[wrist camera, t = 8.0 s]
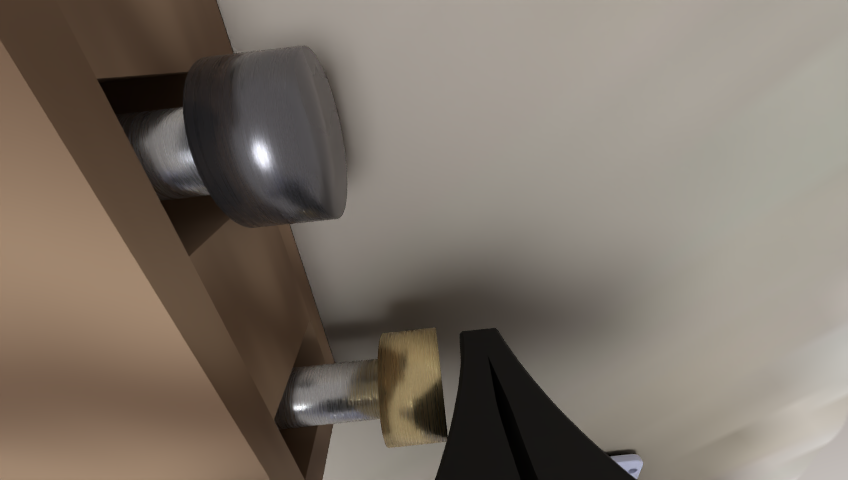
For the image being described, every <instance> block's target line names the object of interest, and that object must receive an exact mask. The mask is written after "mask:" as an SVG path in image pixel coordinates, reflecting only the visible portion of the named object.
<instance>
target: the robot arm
mask: <svg viewBox="0 0 848 480" xmlns="http://www.w3.org/2000/svg"><path fill="white" fill-rule="evenodd" d="M459 335H460V353H461V368H460V377H459V386H458V392H457V397H456V403H455V408H454V413H453V418H452V422H451V426H450V430H449V434H448V438H447V442H446V446H445V449H444V452H443V456H442V459H441V463H440V466H439V469H438V472H437V475H436V478H435V480H637V478H638V475H639V473H640V471H641V468H642V466H643V461H642V460H641V458H640V456H639V455H636V454H627V455H618V456H608V455H607V454H606V453H605V452H604V451H602V450H601V449H600V448H599V447H598V446H597V445H596V444H594V443H593V442H592V441H591V440H590V439H589V438H588V437H587V436H586V435H585V434H584V433H583V432H582V431H581V430H580V429H579V428H578V427H577V426H576V425H575V424H574V423H573V422H572V421H571V420H570V419H569V418H568V417H567V416H566V415H565V414H564V413H563V412H562V411H561V410H560V409H559V408H558V407H557V406H556V405H555V404H554V403H553V402H552V400H551V399H550V398H549V397H548V396H547V395H546V394H545V393H544V391H543V390H542V389H541V388H540V387H539V386H538V384H537V383H536V382H535V381H534V380H533V378H532V377H531V376H530V375H529V373H528V372H527V371H526V370H525V368H524V367H523V366H522V365H521V363H520V362H519V361H518V359H517V358H516V356H515V355H514V354H513V352H512V351H511V349H510V348H509V347H508V345H507V344H506V342H505V341H504V339H503V337H502V336H501V334H500V333H499V331H498V330H497V329H496V328H491V329H481V330H471V331H462V332H461V333H460V334H459Z"/></svg>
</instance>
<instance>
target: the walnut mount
mask: <svg viewBox="0 0 848 480" xmlns="http://www.w3.org/2000/svg"><path fill="white" fill-rule="evenodd" d="M226 54H233V51H232V48H231V45H230V42H229V39H228V36H227V33H226V30H225V27H224V24H223V20H222V17H221V14H220V11H219V8H218V5H217V2H216V0H0V480H322V479H323V474H324V469H325V464H326V459H327V453H328V448H329V443H330V438H331V433H332V428H333V424H326V425H317V426H307V427H298V428H289V429H278V427H277V425H276V423H275V422H274V418H275V415H276V413H277V410H278V407H279V404H280V401H281V399H282V396H283V393H284V390H285V388H286V385H287V382H288V379H289V376H290V374H291V371H292V368H296V367H305V366H315V365H324V364H333V363H335V362H334V359H333V356H332V353H331V350H330V347H329V344H328V341H327V338H326V335H325V332H324V329H323V326H322V322H321V319H320V316H319V313H318V310H317V307H316V304H315V301H314V298H313V295H312V292H311V289H310V286H309V283H308V280H307V277H306V274H305V271H304V268H303V265H302V261H301V258H300V255H299V252H298V249H297V246H296V243H295V240H294V237H293V234H292V231H291V228H290V225H289V224H285V225H276V226H267V227H258V228H248V227H244V226H241V225H239V224H237V223H236V222H234V221H233V220H231V219H230V218H229V217H228V216H227V215H226V214H225V213H224V212H223V211H222V210H221V209H220V208H219V207H218V205H217V204H216V203H215V201H214V200H213V199H212V197H211V196H210V195H207V196H198V197H188V198H179V199H170V200H161V201H160V200H159V198H158V196H157V194H156V192H155V190H154V188H153V186H152V184H151V182H150V180H149V179H148V177H147V175H146V173H145V171H144V169H143V167H142V165H141V163H140V161H139V159H138V157H137V155H136V153H135V152H134V150H133V148H132V146H131V144H130V142H129V140H128V138H127V136H126V134H125V132H124V130H123V128H122V126H121V125H120V123H119V121H118V119H117V117H116V114H125V113H134V112H143V111H152V110H161V109H170V108H179V107H183V90H184V85H185V80H186V77H187V74H188V72H189V70H190V68H191V67H192V65H193V64H194V63H195V62H196V61H197V60H199V59H201V58H203V57H209V56H217V55H226Z"/></svg>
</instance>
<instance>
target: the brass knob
mask: <svg viewBox="0 0 848 480" xmlns="http://www.w3.org/2000/svg"><path fill="white" fill-rule="evenodd" d="M373 419H380V420H381V427H382V433H383V437H384V441H385V444H386V446H387V447H388V448H392V447H401V446H411V445H420V444H429V443H439V442H447V438H448V435H447V425H446V416H445V407H444V398H443V389H442V379H441V370H440V361H439V352H438V344H437V335H436V328H427V329H418V330H409V331H399V332H390V333H383V334H382V335H381V337H380V341H379V349H378V359H370V360H361V361H352V362H342V363H333V364H324V365H315V366H305V367H296V368H292V371H291V374H290V376H289V379H288V382H287V385H286V388H285V390H284V393H283V396H282V399H281V401H280V404H279V407H278V410H277V413H276V415H275V418H274V422H275V423H276V425H277V427H278V429H289V428H298V427H307V426H317V425H326V424H335V423H345V422H354V421H363V420H373Z"/></svg>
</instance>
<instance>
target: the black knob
mask: <svg viewBox="0 0 848 480" xmlns="http://www.w3.org/2000/svg"><path fill="white" fill-rule="evenodd" d="M116 117H117V119H118V121H119V123H120V125H121V126H122V128H123V130H124V132H125V134H126V136H127V138H128V140H129V142H130V144H131V146H132V148H133V150H134V152H135V153H136V155H137V157H138V159H139V161H140V163H141V165H142V167H143V169H144V171H145V173H146V175H147V177H148V179H149V180H150V182H151V184H152V186H153V188H154V190H155V192H156V194H157V196H158V198H159V200H160V201H161V200H170V199H179V198H188V197H198V196H207V195H210V196H211V197H212V199H213V200H214V201H215V203H216V204H217V205H218V207H219V208H220V209H221V210H222V211H223V212H224V213H225V214H226V215H227V216H228V217H229V218H230V219H231V220H233V221H234V222H236V223H237V224H239V225H241V226H244V227H248V228H258V227H267V226H276V225H285V224H294V223H303V222H313V221H322V220H331V219H338V218H340V217H341V216H342V214H343V212H344V209H345V205H346V199H347V167H346V157H345V149H344V142H343V136H342V131H341V126H340V121H339V117H338V113H337V109H336V105H335V101H334V98H333V94H332V91H331V88H330V85H329V82H328V80H327V77H326V75H325V72H324V70H323V68H322V66H321V64H320V62H319V60H318V58H317V57H316V55H315V54H314V52H313V51H312V50H311V49H310V48H309V47H307V46H298V47H289V48H280V49H271V50H262V51H253V52H244V53H235V54H226V55H217V56H209V57H203V58H201V59H199V60H197V61H196V62H195V63H194V64H193V65H192V67H191V68H190V70H189V72H188V74H187V77H186V80H185V85H184V90H183V107H179V108H170V109H161V110H152V111H143V112H134V113H125V114H116Z"/></svg>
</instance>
